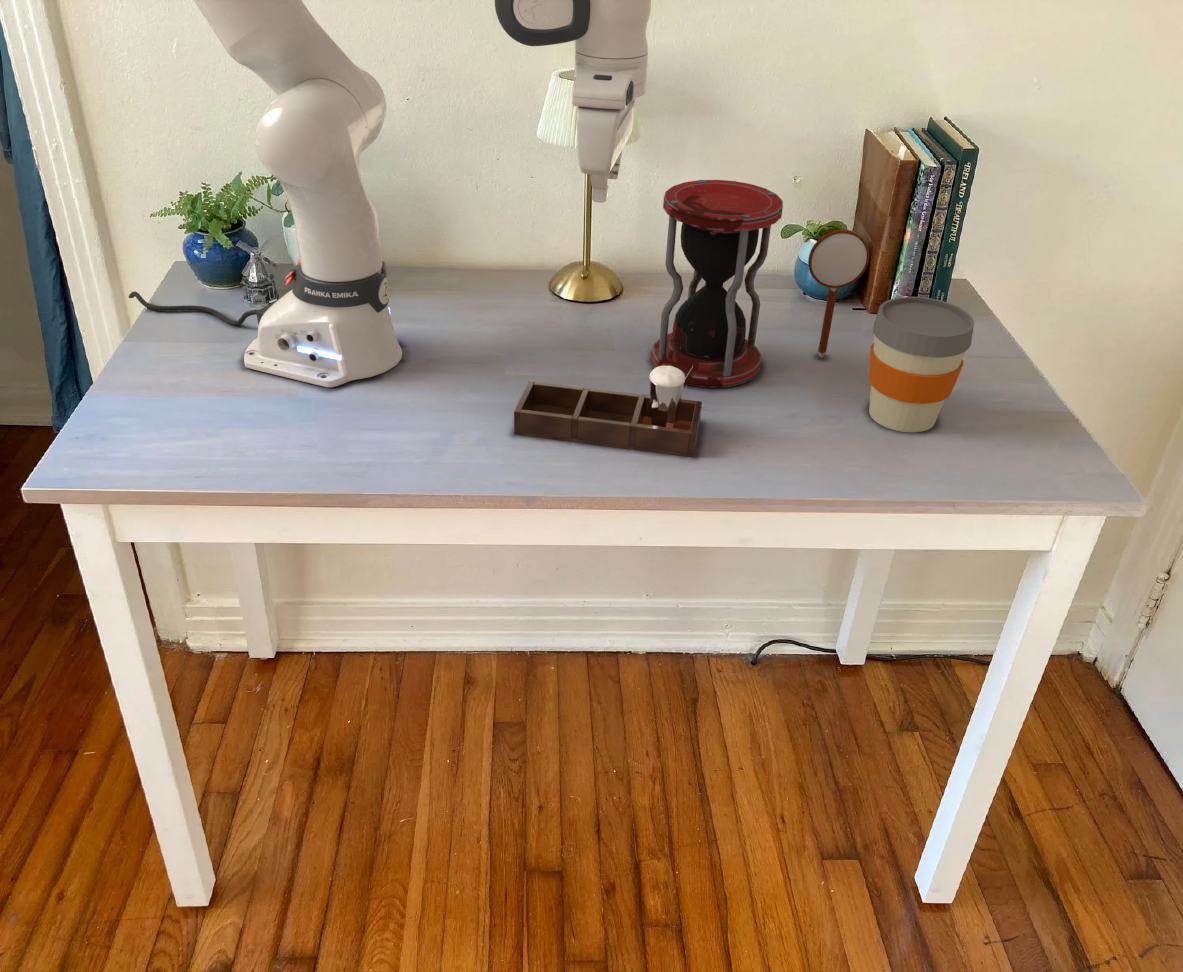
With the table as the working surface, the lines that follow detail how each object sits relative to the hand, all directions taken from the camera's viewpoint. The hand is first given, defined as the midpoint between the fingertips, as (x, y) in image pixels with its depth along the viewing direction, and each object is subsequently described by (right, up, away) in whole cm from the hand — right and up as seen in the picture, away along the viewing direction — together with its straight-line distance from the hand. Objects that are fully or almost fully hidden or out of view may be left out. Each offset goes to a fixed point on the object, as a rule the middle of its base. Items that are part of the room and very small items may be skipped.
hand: (606, 188), depth 130 cm
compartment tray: (0, -31, +3) cm, 31 cm away
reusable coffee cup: (+41, -29, +8) cm, 51 cm away
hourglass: (+15, -20, +19) cm, 32 cm away
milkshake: (+8, -32, +2) cm, 33 cm away
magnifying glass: (+33, -19, +22) cm, 44 cm away
